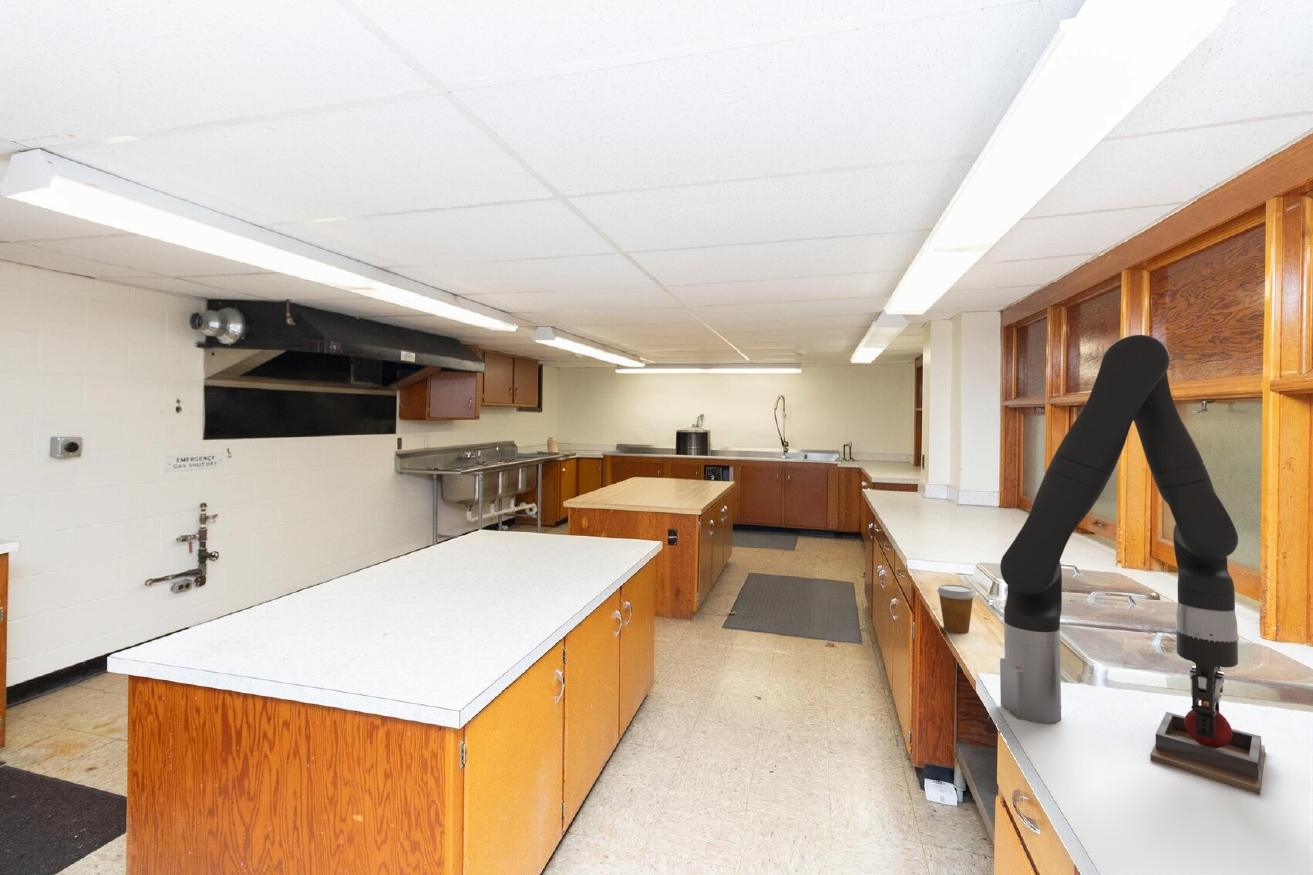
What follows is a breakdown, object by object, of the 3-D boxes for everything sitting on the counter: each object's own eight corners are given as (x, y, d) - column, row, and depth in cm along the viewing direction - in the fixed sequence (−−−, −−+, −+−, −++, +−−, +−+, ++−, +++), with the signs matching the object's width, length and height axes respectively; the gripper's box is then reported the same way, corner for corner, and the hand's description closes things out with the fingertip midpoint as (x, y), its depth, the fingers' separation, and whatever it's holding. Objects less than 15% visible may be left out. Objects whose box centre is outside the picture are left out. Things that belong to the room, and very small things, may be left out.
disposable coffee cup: (976, 628, 164) (975, 586, 164) (974, 637, 156) (973, 593, 156) (939, 622, 169) (939, 582, 169) (935, 631, 161) (935, 589, 161)
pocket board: (1260, 794, 86) (1259, 771, 86) (1150, 760, 95) (1150, 739, 95) (1264, 751, 98) (1264, 731, 98) (1166, 724, 107) (1166, 706, 107)
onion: (1242, 760, 93) (1241, 711, 93) (1201, 756, 94) (1200, 708, 95) (1215, 742, 99) (1214, 696, 99) (1176, 739, 100) (1176, 693, 100)
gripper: (1234, 648, 89) (1236, 752, 89) (1240, 628, 99) (1242, 722, 99) (1170, 636, 95) (1171, 734, 95) (1181, 618, 104) (1183, 707, 104)
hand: (1207, 728), depth 97 cm, fingers open, 8 cm apart
